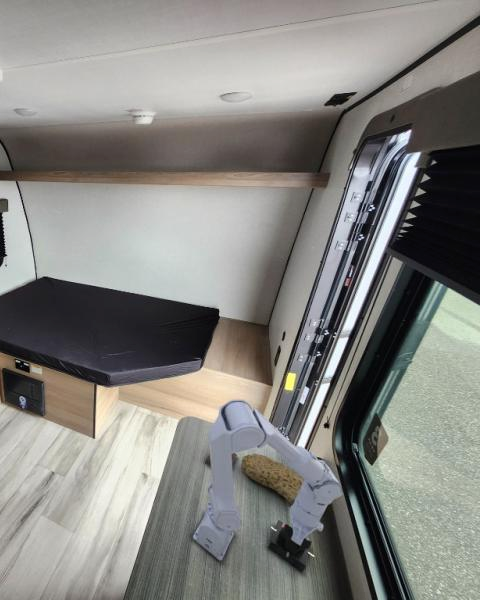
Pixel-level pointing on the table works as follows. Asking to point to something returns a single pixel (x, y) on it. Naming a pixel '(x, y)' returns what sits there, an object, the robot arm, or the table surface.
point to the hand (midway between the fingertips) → (293, 538)
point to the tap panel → (279, 548)
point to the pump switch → (232, 459)
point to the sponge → (272, 475)
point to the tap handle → (284, 534)
